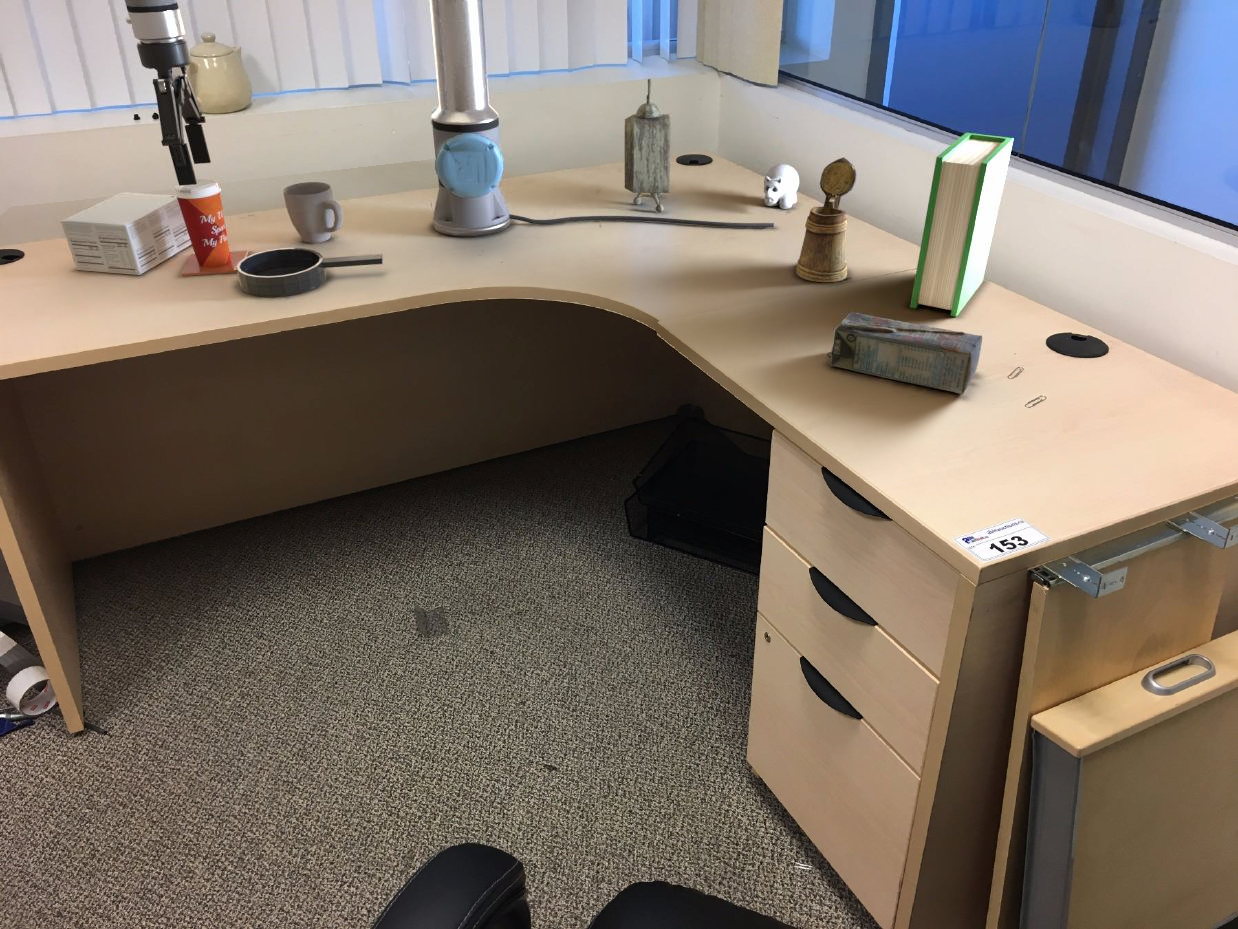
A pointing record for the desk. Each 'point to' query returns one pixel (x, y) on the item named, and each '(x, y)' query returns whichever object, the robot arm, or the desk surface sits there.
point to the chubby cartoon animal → (781, 186)
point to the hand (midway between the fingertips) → (195, 173)
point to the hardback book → (960, 220)
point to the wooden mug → (827, 228)
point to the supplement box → (126, 233)
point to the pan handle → (352, 261)
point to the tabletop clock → (647, 151)
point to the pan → (281, 272)
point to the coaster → (196, 269)
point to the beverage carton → (906, 352)
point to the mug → (313, 210)
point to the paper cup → (204, 221)
